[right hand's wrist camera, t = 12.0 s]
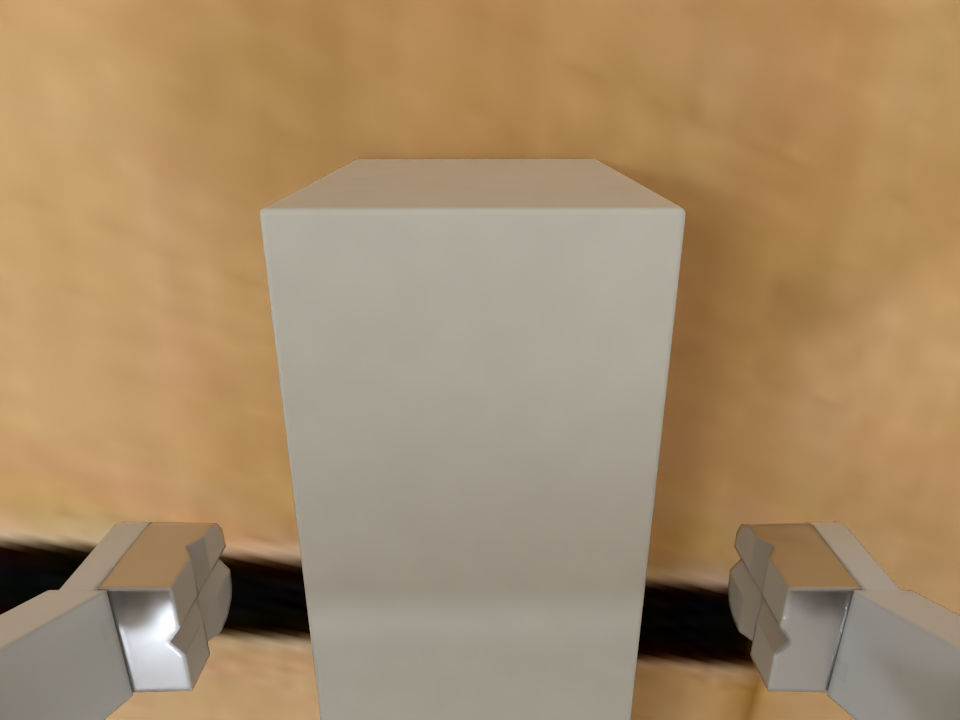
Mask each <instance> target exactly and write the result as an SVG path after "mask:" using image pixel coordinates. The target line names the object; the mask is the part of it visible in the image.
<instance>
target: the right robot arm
mask: <svg viewBox="0 0 960 720" xmlns="http://www.w3.org/2000/svg"><path fill="white" fill-rule="evenodd" d="M225 547H226V545H225V540H224V535H223V531H222V528H221V527H220V526H219V525H218V524H217V523H173V522H154V523H152V522H122V523H119V524H116V525H115V526H114V527H113V528H112V529H111V530H110V531H109V532H108V533H107V535H106V536H105V537H104V538H103V539H102V540H101V542H100V543H99V544H98V545H97V546H96V547H95V549H94V550H93V551H92V552H91V553H90V554H89V556H88V557H87V558H86V559H85V560H84V561H83V563H82V564H81V565H80V566H79V567H78V568H77V570H76V571H75V572H74V573H73V574H72V575H71V577H70V578H69V579H68V580H67V581H66V582H65V584H64V585H63V586H62V587H61V588H60V589H59V590H48V591H46V592H44V593H42V594H40V595H38V596H36V597H34V598H33V599H31V600H29V601H27V602H25V603H23V604H21V605H19V606H17V607H15V608H13V609H11V610H9V611H7V612H5V613H3V614H1V615H0V720H105V719H106V718H107V717H108V716H109V715H111V714H112V713H113V712H114V711H115V710H116V709H118V708H119V707H120V706H121V705H122V704H123V703H125V702H126V701H127V700H128V699H129V698H130V697H132V696H133V693H132V692H158V691H192V690H193V688H194V686H195V684H196V682H197V680H198V678H199V676H200V674H201V672H202V670H203V668H204V665H205V663H206V661H207V659H208V657H209V655H210V652H209V647H208V641H209V640H210V639H211V638H213V637H214V636H215V635H217V634H218V633H220V632H221V630H222V628H223V626H224V624H225V621H226V619H227V617H228V613H229V608H230V603H231V598H232V581H231V575H230V569H229V568H228V567H227V566H226V565H225V564H224V563H223V562H222V561H221V560H220V559H219V558H220V556H221V554H222V552H223V550H224V548H225ZM734 547H735V548H736V550H737V552H738V554H739V556H740V558H741V559H740V560H739V561H738V562H737V563H736V564H735V565H734V566H733V567H732V568H731V569H730V576H729V583H728V594H729V606H730V609H731V613H732V616H733V619H734V622H735V624H736V626H737V628H738V630H739V632H740V633H742V634H743V635H745V636H746V637H747V638H749V639H750V640H751V641H752V647H751V652H750V655H751V657H752V659H753V661H754V663H755V665H756V667H757V670H758V672H759V674H760V676H761V678H762V680H763V682H764V684H765V686H766V688H767V690H768V691H801V692H828V693H827V695H828V696H829V697H830V698H831V699H832V700H833V701H835V702H836V703H837V704H838V705H839V706H840V707H842V708H843V709H844V710H845V711H846V712H847V713H849V714H850V715H851V716H852V717H853V718H854V719H856V720H960V615H958V614H956V613H955V612H953V611H951V610H949V609H947V608H945V607H943V606H941V605H939V604H937V603H935V602H933V601H931V600H929V599H927V598H926V597H924V596H922V595H920V594H918V593H916V592H914V591H912V590H900V588H899V587H898V586H897V585H896V584H895V583H894V581H893V580H892V579H891V578H890V577H889V576H888V574H887V573H886V572H885V571H884V570H883V569H882V567H881V566H880V565H879V564H878V563H877V562H876V560H875V559H874V558H873V557H872V556H871V555H870V553H869V552H868V551H867V550H866V549H865V548H864V546H863V545H862V544H861V543H860V542H859V541H858V539H857V538H856V537H855V536H854V535H853V534H852V532H851V531H850V530H849V529H848V528H847V527H846V526H845V525H844V524H842V523H840V522H808V523H797V524H741V525H740V527H739V529H738V531H737V534H736V539H735V545H734Z"/></svg>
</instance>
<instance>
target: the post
mask: <svg viewBox="0 0 960 720" xmlns="http://www.w3.org/2000/svg"><path fill="white" fill-rule="evenodd" d="M685 217H686V213H685V210H684V209H683V208H682V207H680V206H678V205H676V204H675V203H673V202H671V201H669V200H667V199H666V198H664V197H662V196H660V195H659V194H657V193H655V192H653V191H652V190H650V189H648V188H646V187H644V186H643V185H641V184H639V183H637V182H636V181H634V180H632V179H630V178H628V177H627V176H625V175H623V174H621V173H620V172H618V171H616V170H614V169H613V168H611V167H609V166H607V165H605V164H604V163H602V162H600V161H598V160H596V159H357V160H355V161H353V162H351V163H349V164H347V165H345V166H343V167H341V168H339V169H338V170H336V171H334V172H332V173H330V174H328V175H326V176H324V177H322V178H320V179H318V180H317V181H315V182H313V183H311V184H309V185H307V186H305V187H303V188H301V189H299V190H297V191H296V192H294V193H292V194H290V195H288V196H286V197H284V198H282V199H280V200H278V201H277V202H275V203H273V204H271V205H269V206H267V207H265V208H263V209H261V212H260V222H261V230H262V238H263V246H264V255H265V263H266V271H267V279H268V288H269V296H270V304H271V313H272V321H273V329H274V337H275V346H276V354H277V362H278V370H279V379H280V387H281V395H282V403H283V412H284V420H285V428H286V437H287V445H288V453H289V461H290V470H291V478H292V486H293V494H294V503H295V511H296V519H297V528H298V536H299V544H300V552H301V561H302V569H303V577H304V585H305V594H306V602H307V610H308V618H309V627H310V635H311V643H312V652H313V660H314V668H315V676H316V685H317V693H318V701H319V709H320V718H321V720H630V718H631V708H632V699H633V690H634V681H635V672H636V663H637V654H638V645H639V636H640V627H641V617H642V608H643V599H644V590H645V581H646V572H647V563H648V554H649V545H650V536H651V526H652V517H653V508H654V499H655V490H656V481H657V472H658V463H659V454H660V445H661V436H662V426H663V417H664V408H665V399H666V390H667V381H668V372H669V363H670V354H671V345H672V335H673V326H674V317H675V308H676V299H677V290H678V281H679V272H680V263H681V254H682V244H683V235H684V226H685Z"/></svg>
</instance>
